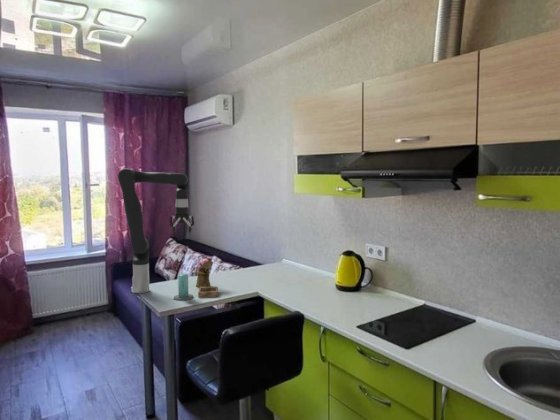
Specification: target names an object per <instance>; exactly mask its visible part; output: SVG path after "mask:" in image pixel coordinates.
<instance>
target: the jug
mask: <svg viewBox="0 0 560 420" xmlns="http://www.w3.org/2000/svg"><path fill="white" fill-rule="evenodd" d="M177 277H178V278H177V282H178V283H177V285H178V287H177V288H178V289H177V290H178V294H177V295H179V298H187V297H188V294H189V274H188V273H178V274H177Z"/></svg>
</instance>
